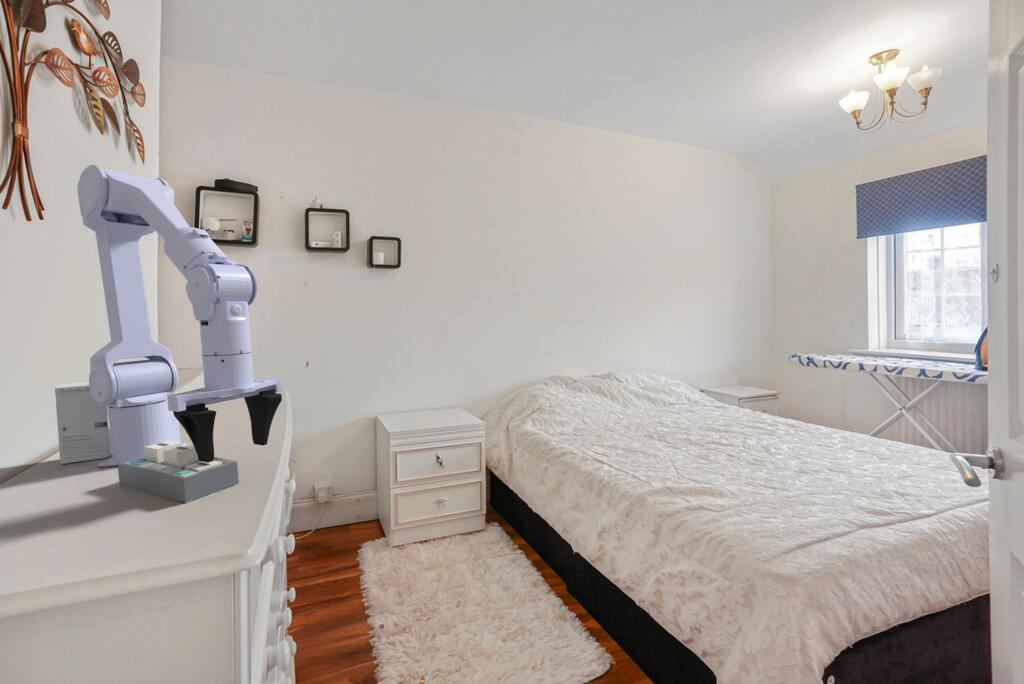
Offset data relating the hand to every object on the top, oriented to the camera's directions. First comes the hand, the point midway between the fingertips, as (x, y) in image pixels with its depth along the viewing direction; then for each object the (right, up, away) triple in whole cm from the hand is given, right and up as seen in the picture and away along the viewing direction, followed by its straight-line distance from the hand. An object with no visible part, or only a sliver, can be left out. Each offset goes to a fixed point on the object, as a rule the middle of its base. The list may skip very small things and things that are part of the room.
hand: (234, 452), depth 64 cm
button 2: (-2, -3, -4) cm, 5 cm away
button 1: (-10, -1, 0) cm, 10 cm away
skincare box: (-30, -4, +11) cm, 32 cm away
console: (-6, -4, -2) cm, 8 cm away
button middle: (-6, -1, -2) cm, 6 cm away
